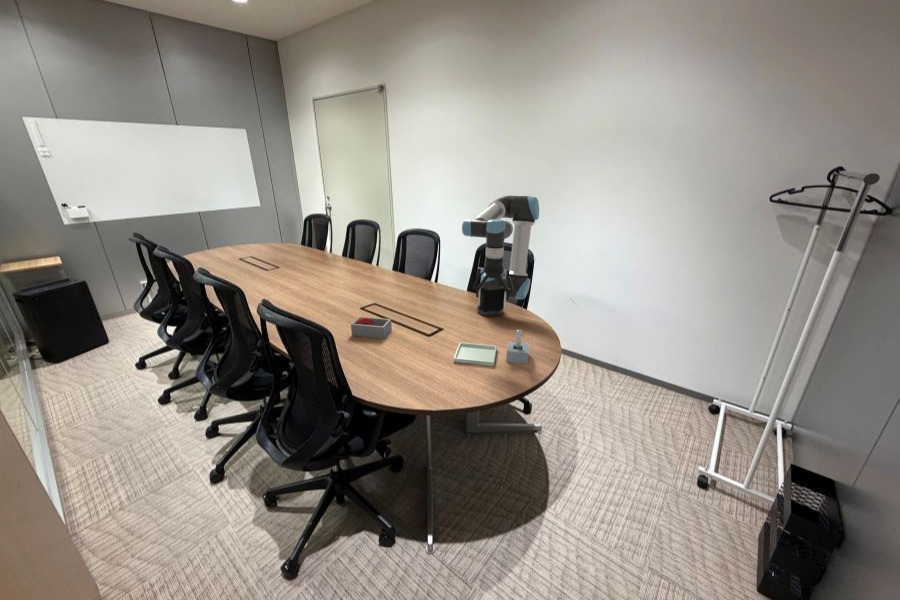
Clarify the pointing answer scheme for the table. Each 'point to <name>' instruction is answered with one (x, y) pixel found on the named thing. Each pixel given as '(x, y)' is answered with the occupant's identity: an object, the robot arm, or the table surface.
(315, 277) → the table surface
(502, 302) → the electronic device
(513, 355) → the square hole cube
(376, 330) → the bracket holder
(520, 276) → the robot arm
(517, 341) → the cylinder
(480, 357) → the tray
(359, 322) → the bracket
